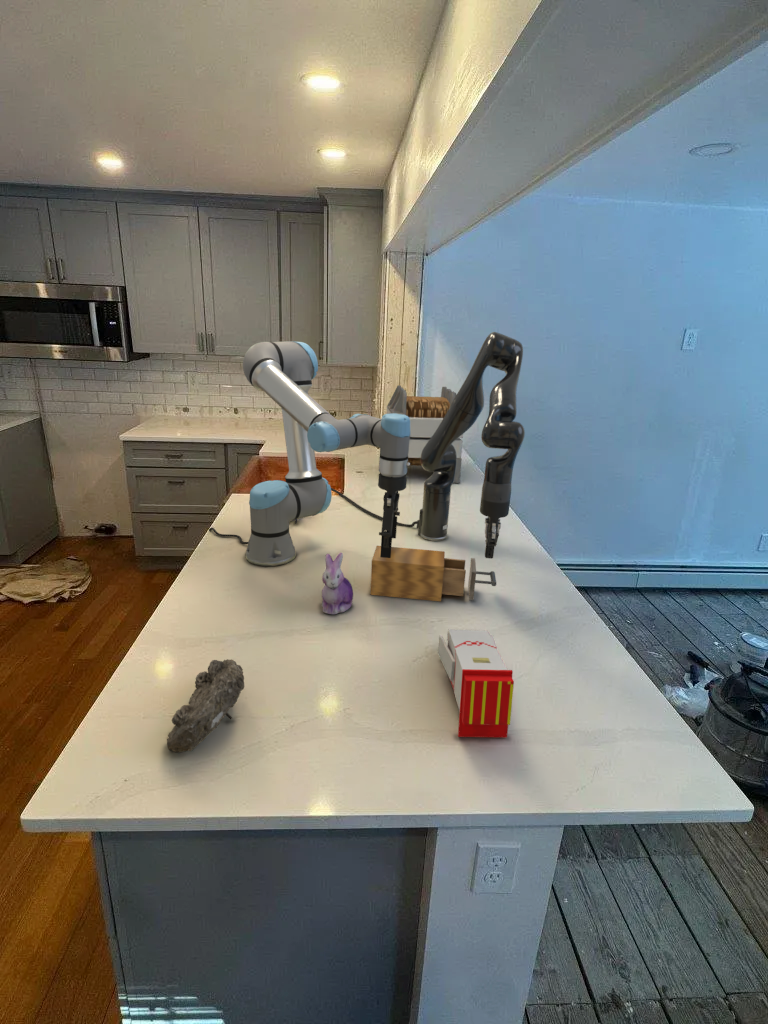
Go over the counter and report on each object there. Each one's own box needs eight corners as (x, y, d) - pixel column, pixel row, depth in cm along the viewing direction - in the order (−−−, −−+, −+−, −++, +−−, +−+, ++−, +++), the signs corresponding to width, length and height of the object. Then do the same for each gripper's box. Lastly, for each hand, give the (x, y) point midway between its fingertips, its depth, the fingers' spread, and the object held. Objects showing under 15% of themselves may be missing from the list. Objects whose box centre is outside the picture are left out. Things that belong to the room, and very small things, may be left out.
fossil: (192, 660, 117) (244, 628, 112) (224, 691, 120) (276, 661, 115) (142, 746, 98) (202, 712, 93) (182, 779, 101) (242, 748, 96)
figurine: (327, 619, 143) (328, 565, 138) (313, 601, 152) (313, 549, 147) (361, 611, 147) (363, 559, 142) (345, 594, 156) (346, 544, 151)
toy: (488, 613, 130) (523, 677, 101) (484, 667, 133) (517, 744, 104) (435, 612, 130) (455, 676, 101) (432, 666, 133) (451, 743, 103)
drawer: (492, 587, 162) (496, 560, 159) (494, 602, 154) (498, 574, 151) (409, 579, 164) (411, 552, 162) (406, 593, 156) (408, 566, 153)
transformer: (382, 463, 289) (386, 382, 275) (445, 464, 293) (451, 384, 279) (390, 482, 257) (394, 392, 243) (460, 483, 261) (468, 394, 247)
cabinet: (441, 584, 164) (444, 551, 161) (441, 601, 155) (444, 566, 151) (375, 578, 166) (376, 545, 163) (370, 594, 157) (371, 560, 153)
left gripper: (402, 489, 138) (397, 567, 145) (410, 462, 161) (405, 531, 168) (372, 486, 138) (368, 564, 146) (384, 460, 162) (380, 529, 169)
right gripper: (512, 506, 142) (504, 568, 148) (508, 490, 154) (500, 548, 160) (482, 503, 143) (475, 566, 148) (480, 488, 155) (474, 546, 161)
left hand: (388, 547), depth 157 cm, fingers open, 13 cm apart
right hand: (488, 557), depth 154 cm, fingers closed
